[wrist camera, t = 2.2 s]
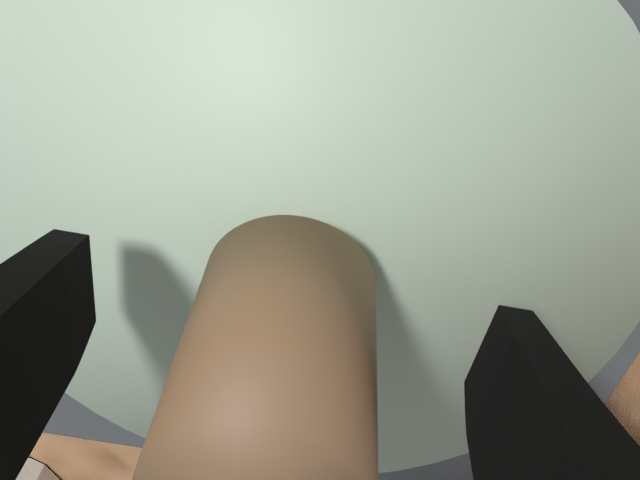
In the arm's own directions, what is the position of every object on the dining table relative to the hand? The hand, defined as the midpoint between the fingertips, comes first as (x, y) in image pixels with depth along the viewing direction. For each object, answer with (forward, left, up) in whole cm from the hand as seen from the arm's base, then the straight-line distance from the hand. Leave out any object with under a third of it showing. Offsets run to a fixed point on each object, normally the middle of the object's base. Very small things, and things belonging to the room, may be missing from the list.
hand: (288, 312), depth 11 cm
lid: (0, 0, -2) cm, 2 cm away
